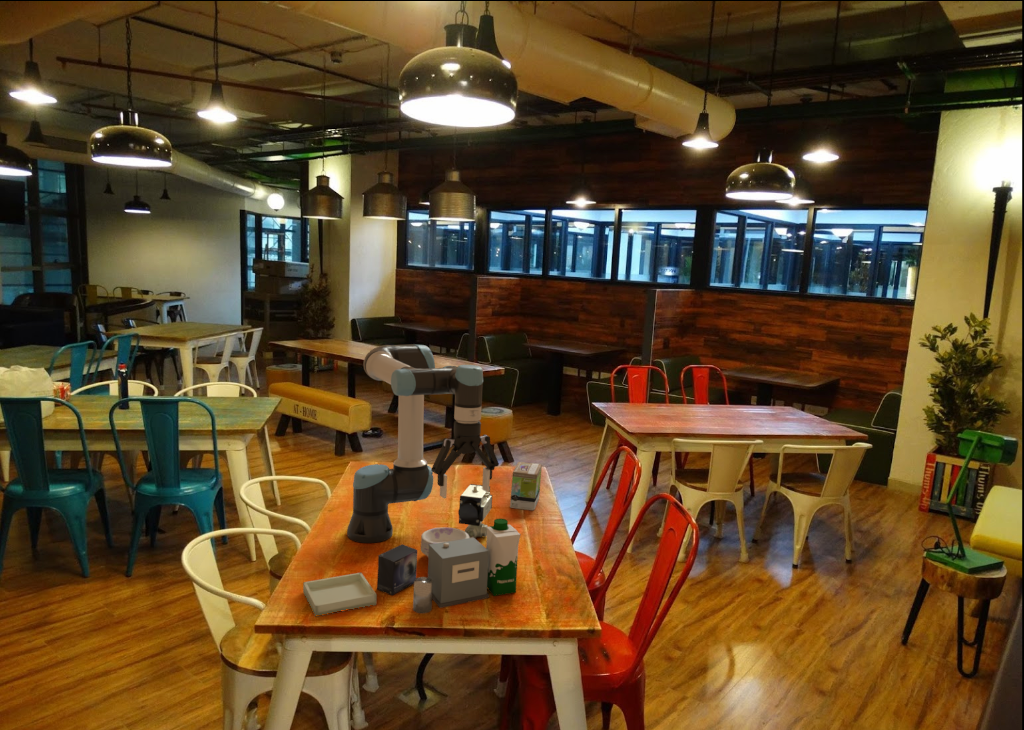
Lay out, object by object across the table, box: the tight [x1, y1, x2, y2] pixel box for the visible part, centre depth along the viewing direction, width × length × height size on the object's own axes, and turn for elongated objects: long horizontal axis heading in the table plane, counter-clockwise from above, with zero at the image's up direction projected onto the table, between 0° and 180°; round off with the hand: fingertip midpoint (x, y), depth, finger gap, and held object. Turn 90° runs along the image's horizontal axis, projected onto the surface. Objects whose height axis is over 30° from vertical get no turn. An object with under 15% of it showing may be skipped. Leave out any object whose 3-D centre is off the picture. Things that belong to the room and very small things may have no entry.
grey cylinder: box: [412, 576, 433, 614], centre depth 190 cm, size 5×5×8 cm
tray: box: [302, 572, 378, 617], centre depth 193 cm, size 14×16×3 cm
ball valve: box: [457, 483, 493, 539], centre depth 240 cm, size 18×8×18 cm, turn 168°
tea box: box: [509, 461, 543, 511], centre depth 275 cm, size 15×10×15 cm
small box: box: [376, 543, 418, 596], centre depth 201 cm, size 11×6×10 cm, turn 148°
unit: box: [427, 537, 490, 609], centre depth 198 cm, size 11×15×15 cm
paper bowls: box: [420, 527, 470, 559], centre depth 222 cm, size 15×15×8 cm
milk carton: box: [485, 518, 521, 597], centre depth 202 cm, size 9×9×20 cm
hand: (464, 493), depth 198 cm, fingers open, 13 cm apart
